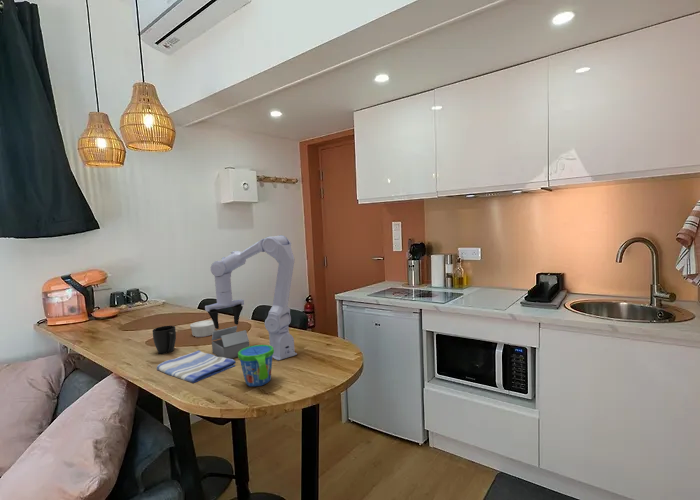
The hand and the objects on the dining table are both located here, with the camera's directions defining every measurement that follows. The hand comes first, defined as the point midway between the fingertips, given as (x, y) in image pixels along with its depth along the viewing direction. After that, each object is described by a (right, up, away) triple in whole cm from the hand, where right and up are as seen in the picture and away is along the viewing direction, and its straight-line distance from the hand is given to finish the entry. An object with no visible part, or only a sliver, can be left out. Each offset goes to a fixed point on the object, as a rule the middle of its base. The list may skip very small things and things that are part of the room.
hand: (226, 326), depth 142 cm
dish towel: (-6, -12, -14) cm, 20 cm away
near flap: (+5, -3, -6) cm, 8 cm away
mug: (-25, -12, +4) cm, 28 cm away
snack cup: (+20, -11, -30) cm, 37 cm away
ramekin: (-20, -10, +27) cm, 35 cm away
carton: (+2, -10, -1) cm, 10 cm away
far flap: (-2, -3, +2) cm, 4 cm away
